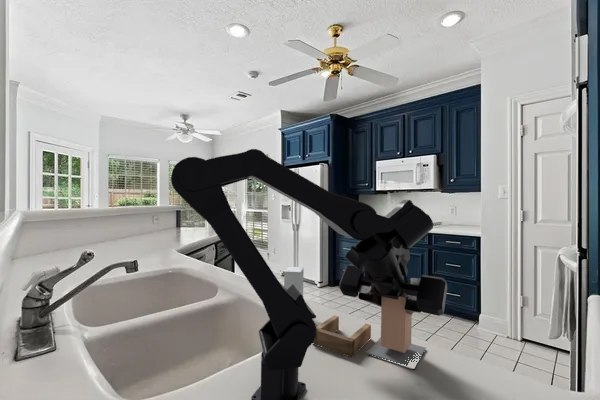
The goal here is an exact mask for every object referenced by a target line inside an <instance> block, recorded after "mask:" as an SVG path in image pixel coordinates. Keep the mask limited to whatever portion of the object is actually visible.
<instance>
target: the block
mask: <svg viewBox="0 0 600 400" xmlns="http://www.w3.org/2000/svg"><path fill="white" fill-rule="evenodd" d="M406 299H407V296H406V295H405V298H402V297H399V298H398V300H396V299H392V298H387V297H382V303H381V307H380V308H381V309H380V311H381V313H380V314H381V316H380V321H381V322H380V337H381V346H383V347H386V348H390V349H393V350H396V351H399V352H403V353H405V352H406V350H407V349H408V348H409V346H410V345H411V344H412V321H413V319H412V318H413V317H412V316H413V314H412V315H411V314H409V313H408V312H407V311H406V310H405V309H404V308H405V304H406Z"/></svg>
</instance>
